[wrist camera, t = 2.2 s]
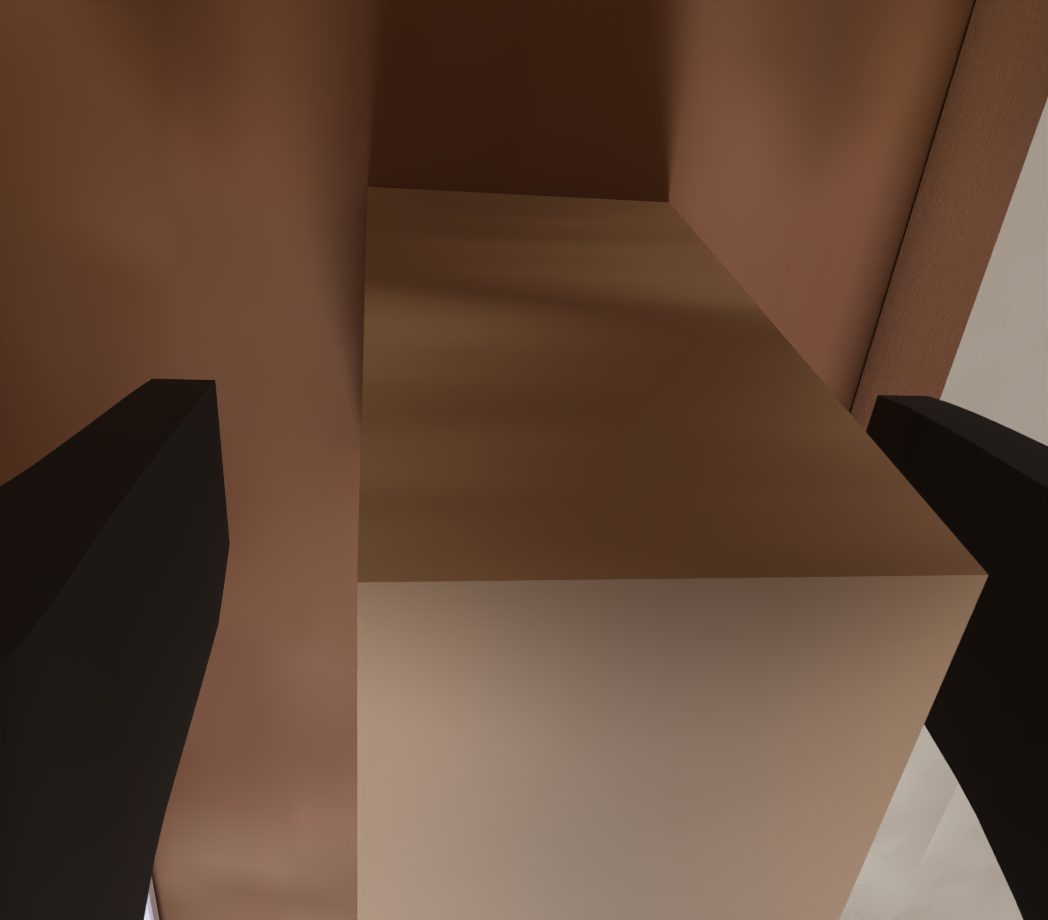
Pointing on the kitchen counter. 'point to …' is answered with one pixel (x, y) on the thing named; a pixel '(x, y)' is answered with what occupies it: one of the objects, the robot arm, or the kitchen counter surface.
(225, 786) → the kitchen counter surface
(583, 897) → the walnut peg
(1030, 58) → the white flat piece
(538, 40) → the kitchen counter surface
